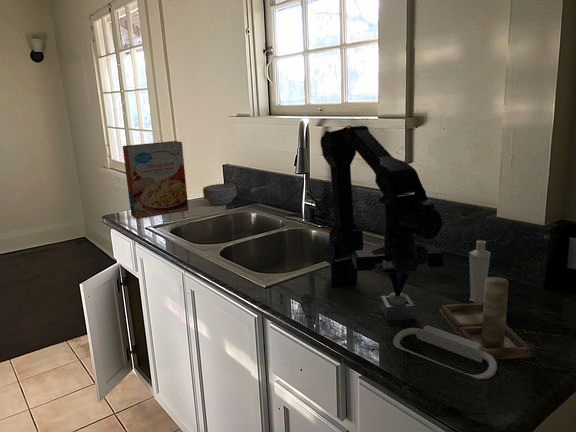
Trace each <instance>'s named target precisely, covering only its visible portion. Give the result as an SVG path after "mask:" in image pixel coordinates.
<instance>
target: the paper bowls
mask: <svg viewBox="0 0 576 432" xmlns="http://www.w3.org/2000/svg"><path fill="white" fill-rule="evenodd" d="M202 194H203V199H204V200H207V202H208V203H209V204H210V205H212V206H223V205H228V204H231V203H232V202H233V199H234V198H235V197H236V196H237V186H236V184H233V183H217V184H210V185H207V186H204V187H203V188H202Z"/></svg>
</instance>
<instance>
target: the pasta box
mask: <svg viewBox="0 0 576 432" xmlns="http://www.w3.org/2000/svg"><path fill="white" fill-rule="evenodd" d="M122 154H123V161H124V169H125V177H126V183H127V186H126V187H127V193H128V201H129V209H130V216H131V217H132V218H134V219H136V220H139V219H147V218H152V217H158V216H164V215H170V214H175V213H181V212H186V211H187V212H188V211H189V202H188V200H189V199H188V194H187V193H188V191H187V181H186V170H185V159H184V151H183V141H177V140H170V141H162V142H152V143H151V142H150V143H139V144H130V145H122Z"/></svg>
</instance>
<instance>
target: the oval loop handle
mask: <svg viewBox="0 0 576 432" xmlns="http://www.w3.org/2000/svg"><path fill="white" fill-rule="evenodd" d="M409 335H415V336H416V339H417V340H420V341H422V342H425V343H427V344H430V345H434V346H436V347H438V348H441V349H444V350H446V351H450V352H451V353H454V354H457V355H458V356H459V355H460V356H462V357H465V358H467V359H470V360H473V361H475V362H478V363H483V360H482V358H483V359H484V361H486V363H487V364H488V368H487V370H485V371H483V373H479V374H470V373H465V372H463V371H461V370H458V369H457V368H453V367H451V366H449V365H445V364H444V363H441V362H439V361H436V360H434V359H431V358H429V357H426V356H424V355H421V354H419V353H416V352H414V351H412V350H409V349H407V348H405V347H403V346H402V345H401V340H402V339H404V337H407V336H409ZM392 339H393V340H392V345H393V346H394V347H395V348H398V349H400V350H403V351H405V352H408V353H410V354H412V355H416V356H418V357H421V358H423V359H427V360H428V361H431V362H433V363H436V364H439V365H441V366H445V367H446V368H450V369H451V370H454V371H457V372H460V373H463V375H467V376H470V377H473V378H475V379H480V380H482V379H491V378H492V377H493V376H495V374H496V373H497V370H498V365H497V364H498V363H497V361H496V359H494V358H493V357H492V356H491V355H489V354H488V353H486V352H484V351H481V344H480V343H477V342H474V341H471V340H468V339H465V338H462V337H460V336H458V334H453V333H450V332H448V331H446V330H442V329H439V328H437V327H434V326H430V325H428V324H426V325H425V326H424V327H423V328H418V327H417V328H416V327H410V328H409V327H408V328H405V329H402V330H400V331H399V332H398V333H397V334H395V336H394V337H393V338H392ZM478 351H479V352H478Z"/></svg>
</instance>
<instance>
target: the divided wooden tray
mask: <svg viewBox="0 0 576 432" xmlns="http://www.w3.org/2000/svg"><path fill="white" fill-rule="evenodd" d="M483 308H484V303H475V302H473V303H456V304H455V303H453V304H441V307H440V309H438V311H439V313H441V314H442V316H443V318H445V320H446V321H447V322H448V324H449V326H451V328H452V329H453V330H454V332H455V333H456V335H457V336H460V337H462V338H465V339H468V340H471V341H474V342H477V343H480V344H481V351H484V352H486V353H488V354H489V355H491V356H492V357H493V358H494V359H495V360H501V359H502V360H503V359H504V360H505V359H516V358H517V359H519V358H532V357H533V356H532V355H531V350H532V348H531V347H530V346H529V345H528V344H527V343H526V342H525V341H524V340H523V339H522V338H521V337H519V335H518V334H517V333H516V332H514V330H513V329H512V328H511V327H510V326H508V324H507V323H506V326H505V340H504V348H494V349H488V348H486V347H484V346H483V345H482V343H481V342H482V325H483ZM478 352H479V351H478ZM483 360H484V359H483V358H482V361H483ZM484 361H485V360H484Z"/></svg>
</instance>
